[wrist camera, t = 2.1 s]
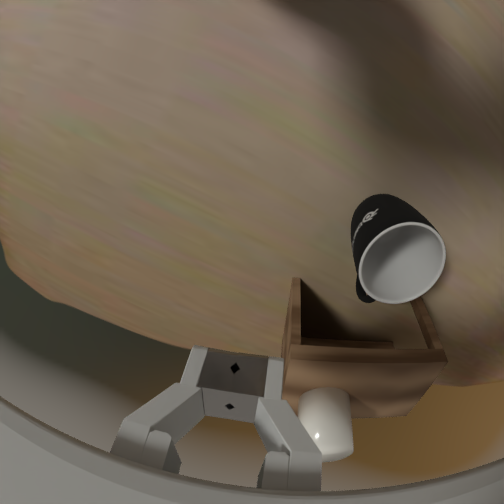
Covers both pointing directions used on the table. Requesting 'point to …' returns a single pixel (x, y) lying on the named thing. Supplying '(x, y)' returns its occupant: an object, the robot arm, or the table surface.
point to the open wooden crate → (360, 366)
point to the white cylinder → (328, 421)
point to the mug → (394, 251)
